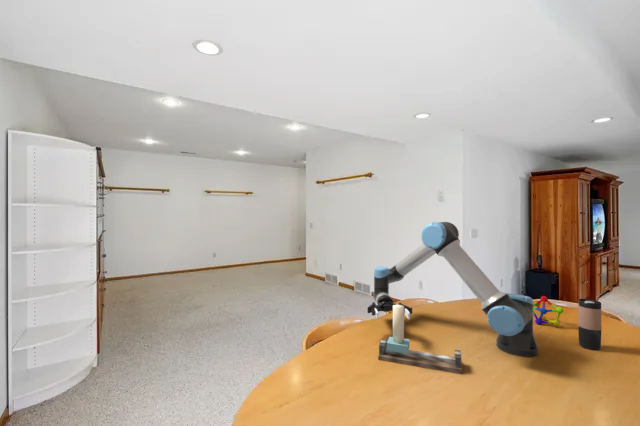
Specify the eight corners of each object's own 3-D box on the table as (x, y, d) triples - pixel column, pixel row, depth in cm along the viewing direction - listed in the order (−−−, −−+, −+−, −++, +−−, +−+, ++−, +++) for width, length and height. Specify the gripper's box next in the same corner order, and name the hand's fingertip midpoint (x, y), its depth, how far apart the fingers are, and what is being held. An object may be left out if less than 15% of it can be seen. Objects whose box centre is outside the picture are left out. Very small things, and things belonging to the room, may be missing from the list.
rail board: (460, 361, 122) (460, 348, 122) (462, 374, 113) (462, 359, 113) (382, 349, 133) (382, 336, 133) (377, 359, 124) (377, 345, 124)
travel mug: (597, 345, 138) (597, 299, 138) (604, 352, 131) (604, 304, 131) (575, 342, 142) (575, 297, 142) (581, 348, 135) (581, 302, 135)
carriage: (409, 346, 128) (409, 305, 128) (407, 353, 121) (407, 309, 121) (389, 343, 131) (389, 302, 131) (386, 350, 124) (386, 307, 124)
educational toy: (523, 324, 168) (520, 295, 169) (538, 320, 173) (535, 293, 175) (554, 331, 154) (551, 299, 155) (570, 327, 159) (567, 297, 161)
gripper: (409, 310, 156) (422, 325, 135) (359, 309, 157) (364, 324, 136) (409, 294, 156) (422, 307, 135) (359, 294, 157) (364, 307, 136)
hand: (393, 316), depth 135 cm, fingers open, 13 cm apart
